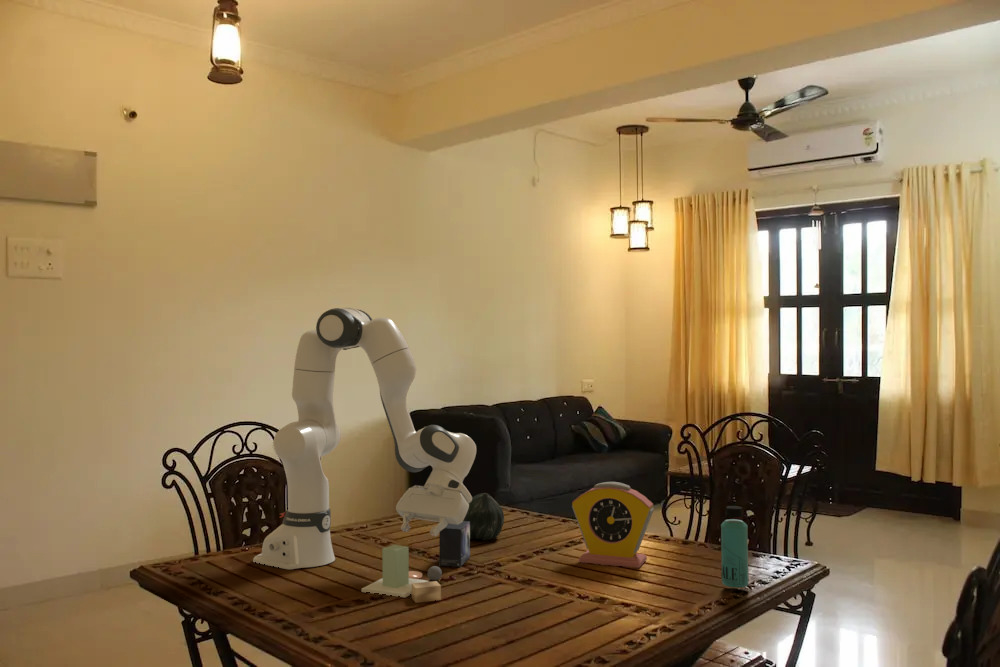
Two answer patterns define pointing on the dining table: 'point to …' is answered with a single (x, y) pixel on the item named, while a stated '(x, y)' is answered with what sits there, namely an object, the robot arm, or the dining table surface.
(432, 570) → the rubber ball
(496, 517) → the squash
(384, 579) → the sage block
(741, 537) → the beverage bottle
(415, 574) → the peach flat disc
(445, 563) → the small box
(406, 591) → the beige mat
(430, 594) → the oak block
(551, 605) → the dining table surface
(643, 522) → the retro mantel clock
